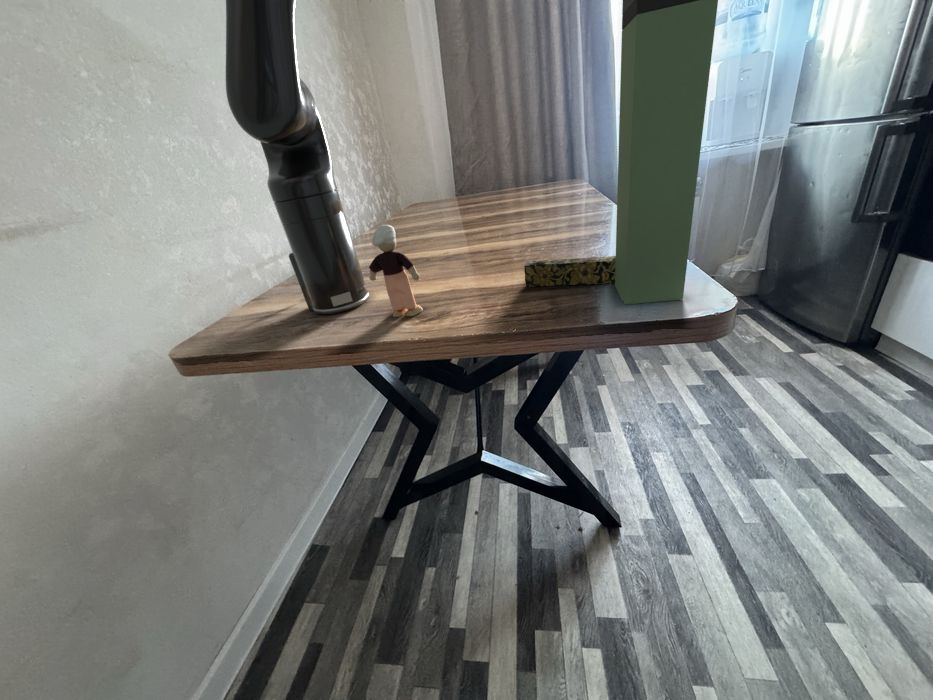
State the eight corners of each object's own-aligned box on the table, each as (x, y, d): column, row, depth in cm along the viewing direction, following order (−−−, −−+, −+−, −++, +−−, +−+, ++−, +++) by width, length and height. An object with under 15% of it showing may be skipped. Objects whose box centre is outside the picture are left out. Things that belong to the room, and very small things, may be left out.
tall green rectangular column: (624, 304, 47) (639, -43, 32) (614, 286, 53) (623, -17, 38) (683, 299, 46) (726, -65, 31) (666, 281, 52) (696, -35, 37)
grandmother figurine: (431, 305, 58) (412, 218, 52) (426, 315, 54) (405, 224, 48) (383, 310, 59) (359, 226, 53) (375, 321, 56) (349, 232, 50)
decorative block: (525, 287, 58) (523, 264, 56) (528, 281, 60) (526, 259, 58) (636, 283, 53) (637, 258, 51) (635, 277, 55) (637, 253, 53)
